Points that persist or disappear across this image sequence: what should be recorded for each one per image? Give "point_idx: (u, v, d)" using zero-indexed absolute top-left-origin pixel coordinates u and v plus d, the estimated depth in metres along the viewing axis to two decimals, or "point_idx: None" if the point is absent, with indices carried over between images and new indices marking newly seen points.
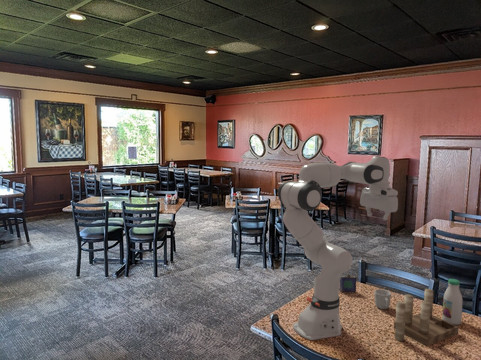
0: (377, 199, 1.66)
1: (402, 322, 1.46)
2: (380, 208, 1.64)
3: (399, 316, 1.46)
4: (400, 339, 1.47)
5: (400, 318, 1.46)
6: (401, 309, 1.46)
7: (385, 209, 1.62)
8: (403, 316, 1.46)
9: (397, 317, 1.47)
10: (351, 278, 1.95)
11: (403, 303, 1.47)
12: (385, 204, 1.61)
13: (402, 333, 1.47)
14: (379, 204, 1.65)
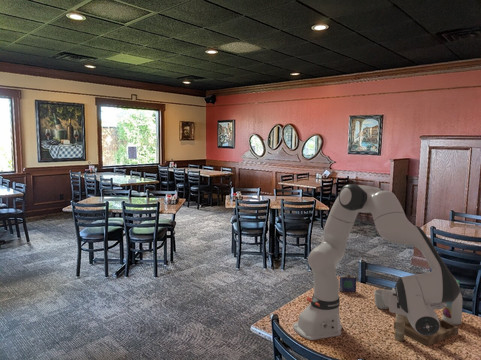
0: None
1: (402, 322, 1.46)
2: None
3: (399, 316, 1.46)
4: (400, 339, 1.47)
5: (400, 318, 1.46)
6: None
7: (392, 290, 1.32)
8: (403, 316, 1.46)
9: (397, 317, 1.47)
10: (351, 278, 1.95)
11: None
12: (393, 292, 1.30)
13: (402, 333, 1.47)
14: None
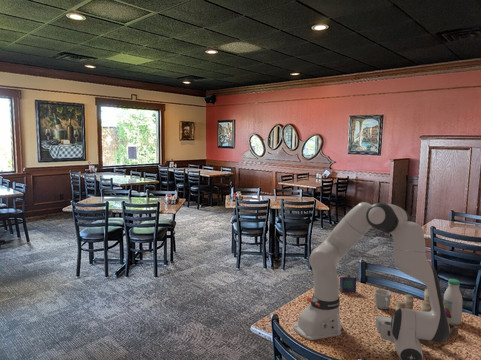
0: None
1: None
2: None
3: None
4: None
5: None
6: None
7: (385, 317, 1.45)
8: None
9: None
10: (351, 278, 1.95)
11: (403, 303, 1.47)
12: (386, 320, 1.43)
13: None
14: None
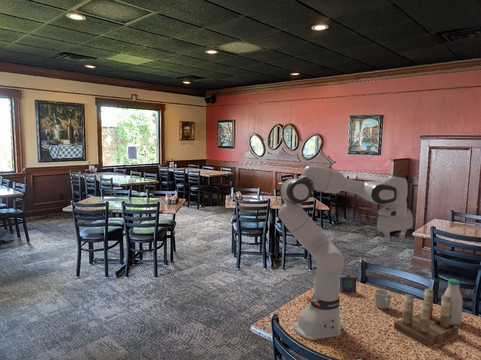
0: None
1: (449, 315, 1.52)
2: None
3: (447, 310, 1.52)
4: None
5: (448, 312, 1.52)
6: (449, 302, 1.52)
7: None
8: None
9: (446, 311, 1.52)
10: (351, 278, 1.95)
11: (448, 296, 1.53)
12: None
13: None
14: None
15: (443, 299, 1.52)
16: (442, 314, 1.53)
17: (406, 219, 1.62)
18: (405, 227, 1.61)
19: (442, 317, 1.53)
